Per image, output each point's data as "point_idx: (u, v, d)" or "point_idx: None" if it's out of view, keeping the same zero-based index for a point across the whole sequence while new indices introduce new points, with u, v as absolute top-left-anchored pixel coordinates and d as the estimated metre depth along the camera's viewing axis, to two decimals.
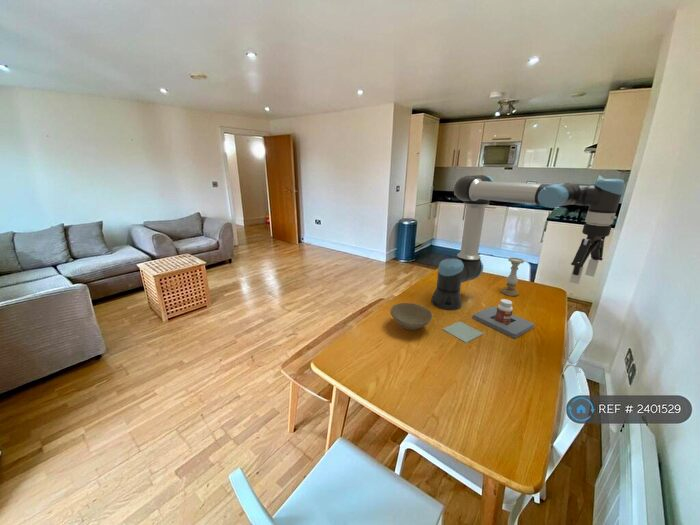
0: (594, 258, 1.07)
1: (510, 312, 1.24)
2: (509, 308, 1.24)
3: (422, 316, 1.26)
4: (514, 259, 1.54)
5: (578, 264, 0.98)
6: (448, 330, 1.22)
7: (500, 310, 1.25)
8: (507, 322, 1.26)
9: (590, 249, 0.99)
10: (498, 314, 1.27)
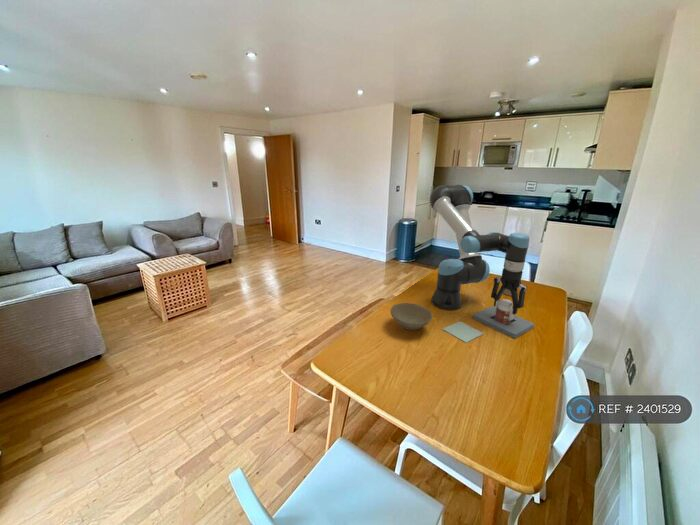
0: None
1: None
2: (509, 308, 1.24)
3: (422, 316, 1.26)
4: None
5: None
6: (448, 330, 1.22)
7: (500, 310, 1.25)
8: (507, 322, 1.26)
9: None
10: (498, 314, 1.27)
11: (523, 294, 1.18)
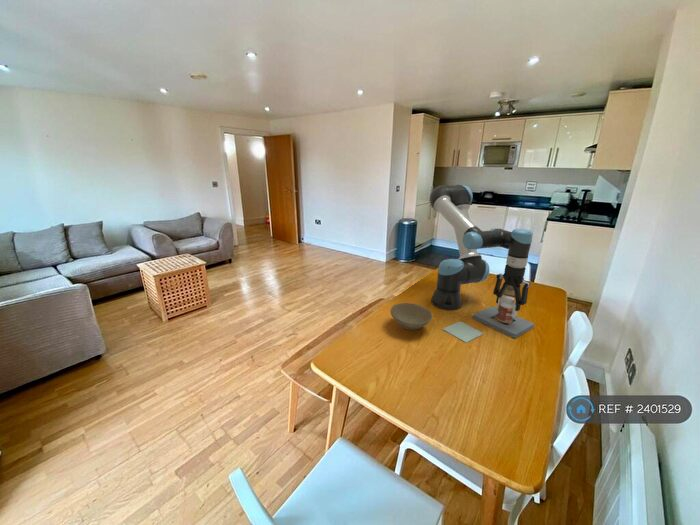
0: None
1: None
2: (512, 305, 1.23)
3: (422, 316, 1.26)
4: None
5: None
6: (448, 330, 1.22)
7: (503, 307, 1.24)
8: (510, 319, 1.24)
9: None
10: (500, 311, 1.25)
11: (526, 290, 1.17)
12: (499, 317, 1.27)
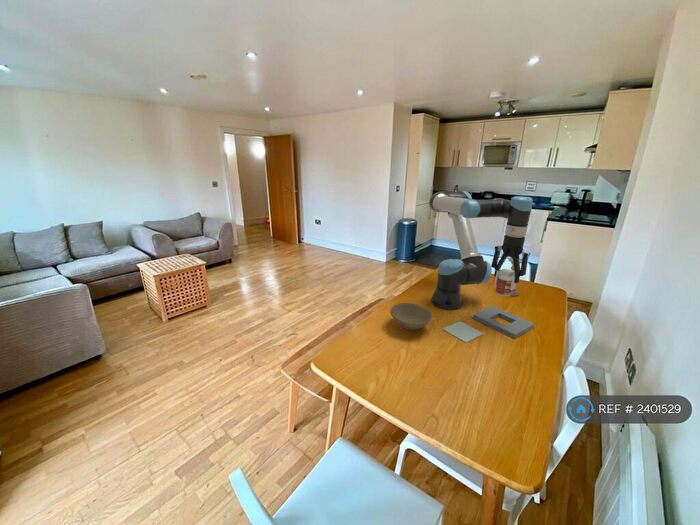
0: None
1: (511, 281, 1.19)
2: (510, 277, 1.18)
3: (422, 316, 1.26)
4: None
5: None
6: (448, 330, 1.22)
7: (502, 280, 1.20)
8: (508, 292, 1.20)
9: None
10: (499, 284, 1.21)
11: (526, 261, 1.13)
12: (497, 290, 1.22)
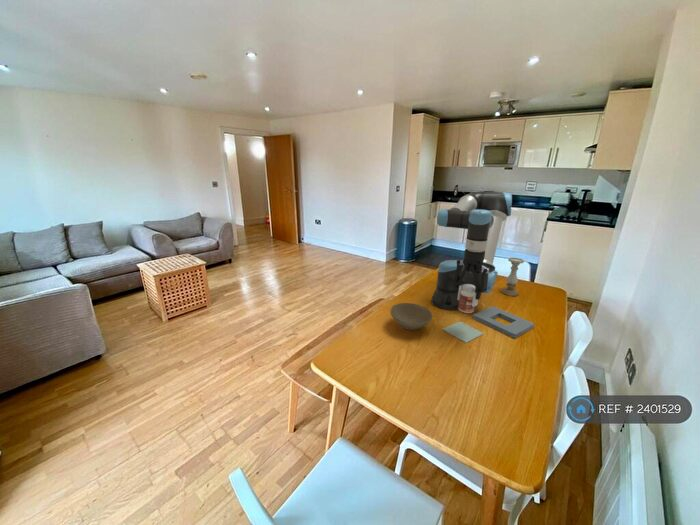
0: None
1: None
2: (472, 293, 1.13)
3: (422, 316, 1.26)
4: (514, 259, 1.54)
5: None
6: (448, 330, 1.22)
7: (463, 296, 1.14)
8: (470, 309, 1.15)
9: None
10: (461, 300, 1.16)
11: (486, 277, 1.08)
12: (460, 306, 1.17)
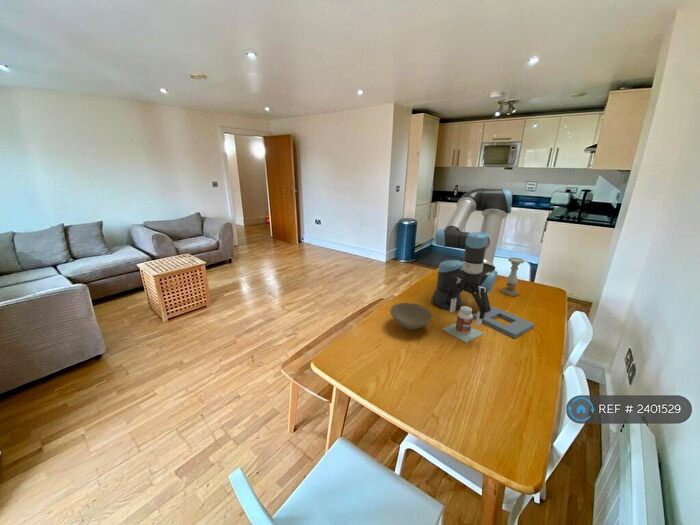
0: None
1: (469, 320, 1.17)
2: (468, 316, 1.17)
3: (422, 316, 1.26)
4: (514, 259, 1.54)
5: None
6: (448, 330, 1.22)
7: (460, 318, 1.18)
8: (467, 330, 1.18)
9: None
10: (458, 322, 1.19)
11: (485, 296, 1.09)
12: (456, 328, 1.21)
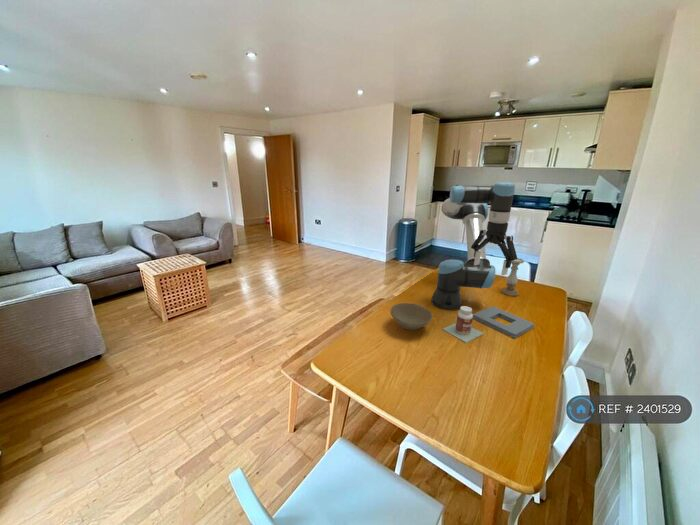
0: None
1: (469, 320, 1.17)
2: (468, 316, 1.17)
3: (422, 316, 1.26)
4: None
5: None
6: (448, 330, 1.22)
7: (460, 318, 1.18)
8: (467, 330, 1.18)
9: None
10: (458, 322, 1.19)
11: (511, 244, 1.11)
12: (456, 328, 1.21)
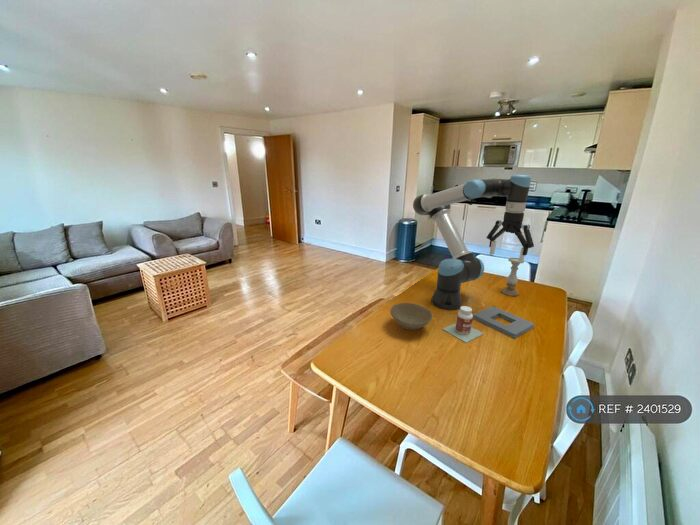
0: None
1: (469, 320, 1.17)
2: (468, 316, 1.17)
3: (422, 316, 1.26)
4: (514, 259, 1.54)
5: None
6: (448, 330, 1.22)
7: (460, 318, 1.18)
8: (467, 330, 1.18)
9: None
10: (458, 322, 1.19)
11: (528, 232, 1.18)
12: (456, 328, 1.21)
